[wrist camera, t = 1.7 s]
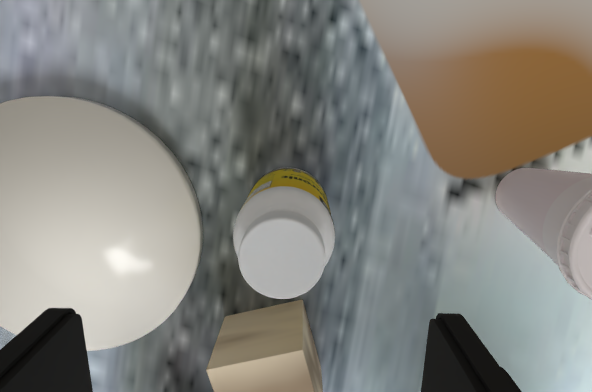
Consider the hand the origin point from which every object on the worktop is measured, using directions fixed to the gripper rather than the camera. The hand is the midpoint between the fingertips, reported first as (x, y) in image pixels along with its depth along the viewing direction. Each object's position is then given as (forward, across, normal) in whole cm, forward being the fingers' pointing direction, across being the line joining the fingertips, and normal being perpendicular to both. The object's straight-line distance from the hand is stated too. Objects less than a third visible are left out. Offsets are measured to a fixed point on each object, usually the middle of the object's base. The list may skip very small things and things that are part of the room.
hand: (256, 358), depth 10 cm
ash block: (+17, 0, +12) cm, 21 cm away
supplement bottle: (+17, 0, +1) cm, 17 cm away
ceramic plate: (+17, +14, +3) cm, 23 cm away
